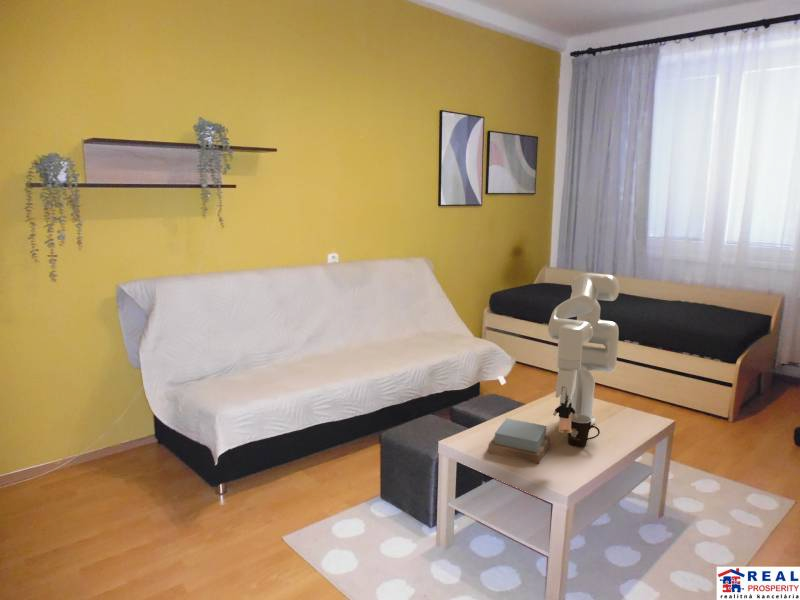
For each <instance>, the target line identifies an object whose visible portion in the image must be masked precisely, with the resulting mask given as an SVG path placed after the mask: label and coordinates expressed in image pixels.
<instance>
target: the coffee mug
mask: <svg viewBox="0 0 800 600" xmlns="http://www.w3.org/2000/svg"><path fill="white" fill-rule="evenodd" d="M576 415H577V418H574V415H573V414H571V430H572V432H571V433H567V443H568V445H570V446H572V447H574V448H585V447H586V446H587V444H588V443H587V442H588V441H590V440H592V439H595V438H597V437H599V435H600V434H601V431H600V429H599V427H597V426H596V425H591V421H592V420H591V418H590V417H588V416H586V415H582V414H576ZM590 425H591V426H590ZM593 428H594V429H595V430H597V434H596V435H595V436H594V435H593V436H592V437H591V436H590V437H589V433H590V430H591V429H593Z"/></svg>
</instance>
